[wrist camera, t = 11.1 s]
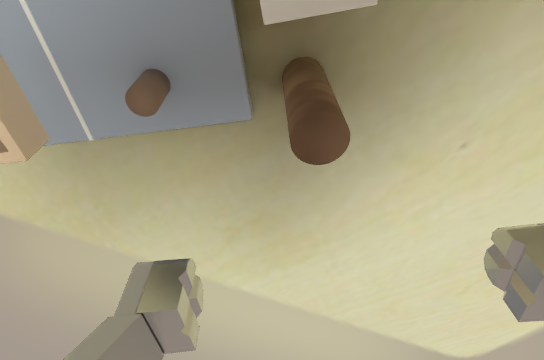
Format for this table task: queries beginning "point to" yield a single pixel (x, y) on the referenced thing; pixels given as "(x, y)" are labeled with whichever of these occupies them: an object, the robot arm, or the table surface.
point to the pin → (313, 113)
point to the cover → (306, 8)
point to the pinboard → (116, 70)
